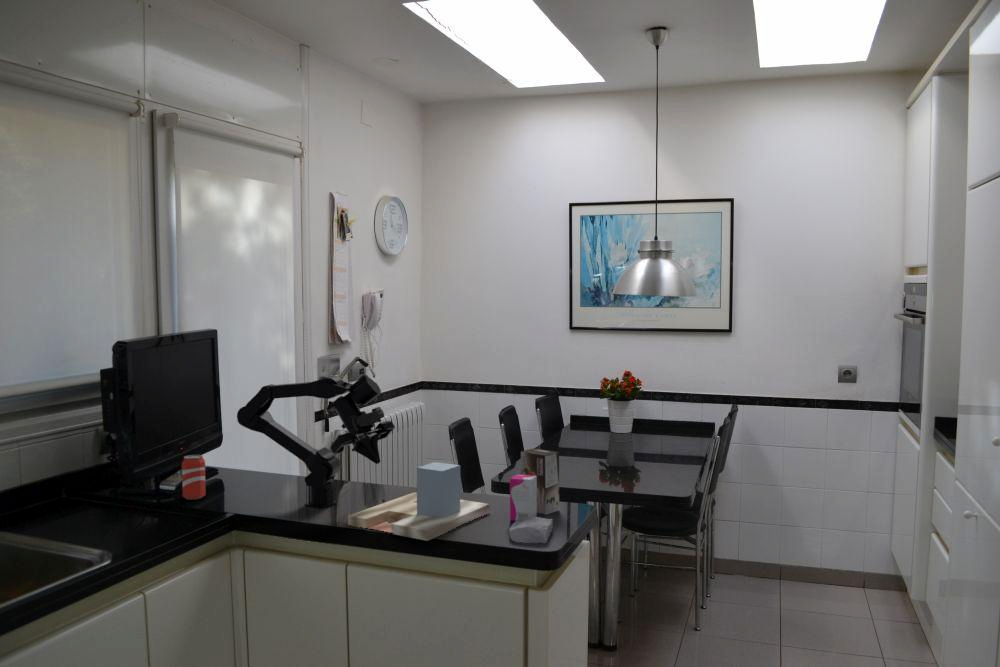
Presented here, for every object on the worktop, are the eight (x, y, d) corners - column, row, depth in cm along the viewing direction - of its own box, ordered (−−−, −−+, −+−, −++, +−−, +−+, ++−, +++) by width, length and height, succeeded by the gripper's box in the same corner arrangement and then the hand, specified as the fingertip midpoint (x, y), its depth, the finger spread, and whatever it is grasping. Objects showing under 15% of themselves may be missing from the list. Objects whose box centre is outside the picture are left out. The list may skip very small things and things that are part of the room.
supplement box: (537, 518, 210) (537, 475, 209) (530, 524, 204) (530, 480, 204) (516, 516, 212) (516, 473, 211) (509, 522, 206) (509, 478, 206)
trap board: (348, 525, 204) (348, 515, 204) (415, 500, 228) (415, 492, 227) (427, 540, 191) (427, 530, 191) (489, 513, 215) (489, 504, 215)
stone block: (508, 550, 190) (549, 544, 188) (504, 530, 190) (545, 524, 188) (517, 537, 202) (555, 531, 200) (513, 518, 202) (552, 512, 200)
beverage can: (197, 493, 236) (196, 453, 235) (210, 497, 232) (209, 456, 231) (178, 498, 231) (177, 456, 230) (191, 501, 227) (190, 459, 226)
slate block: (416, 514, 205) (416, 467, 204) (435, 506, 212) (435, 462, 211) (442, 518, 201) (442, 471, 200) (460, 511, 208) (460, 465, 207)
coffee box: (560, 510, 217) (560, 452, 216) (545, 515, 213) (545, 455, 212) (534, 504, 224) (535, 447, 223) (519, 509, 219) (519, 451, 218)
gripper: (336, 406, 208) (364, 456, 203) (390, 392, 222) (418, 438, 217) (318, 429, 215) (346, 478, 210) (372, 414, 229) (399, 459, 224)
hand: (378, 462), depth 215 cm, fingers closed
